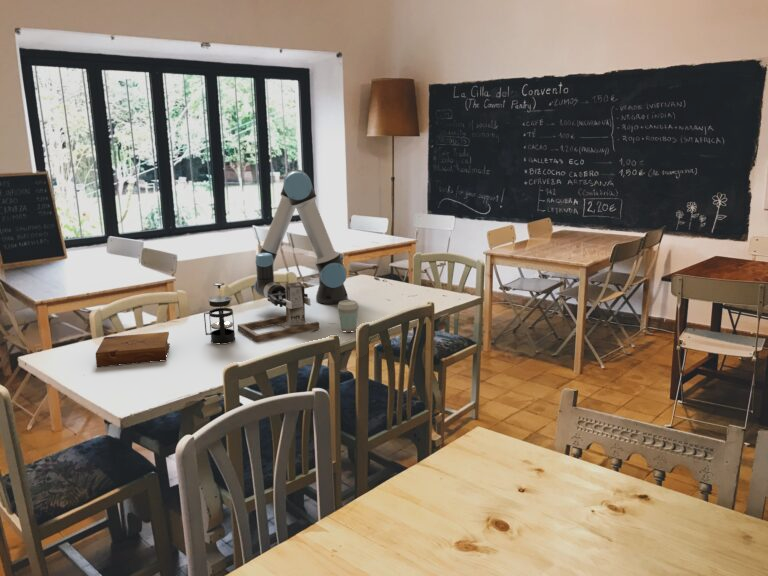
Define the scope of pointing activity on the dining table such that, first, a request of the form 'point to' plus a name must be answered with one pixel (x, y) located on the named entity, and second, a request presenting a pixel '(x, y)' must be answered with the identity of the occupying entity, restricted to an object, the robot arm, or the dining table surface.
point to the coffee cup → (348, 315)
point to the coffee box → (295, 303)
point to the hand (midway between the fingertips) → (300, 303)
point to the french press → (220, 319)
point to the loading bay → (277, 333)
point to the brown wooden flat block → (132, 349)
